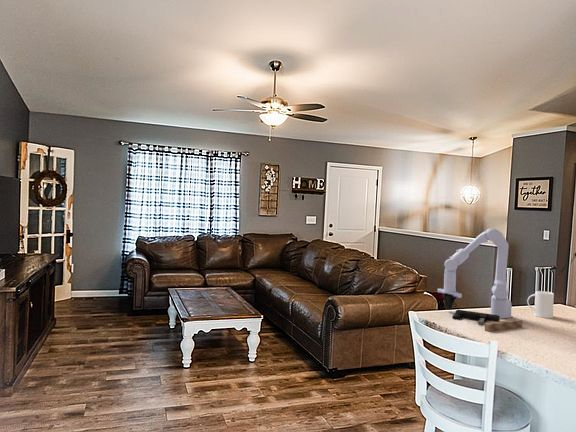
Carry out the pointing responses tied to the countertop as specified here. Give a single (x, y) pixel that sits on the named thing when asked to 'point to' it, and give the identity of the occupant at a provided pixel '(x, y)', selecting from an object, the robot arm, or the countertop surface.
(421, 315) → the countertop surface
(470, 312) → the door handle
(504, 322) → the bar
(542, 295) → the mug
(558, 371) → the countertop surface
